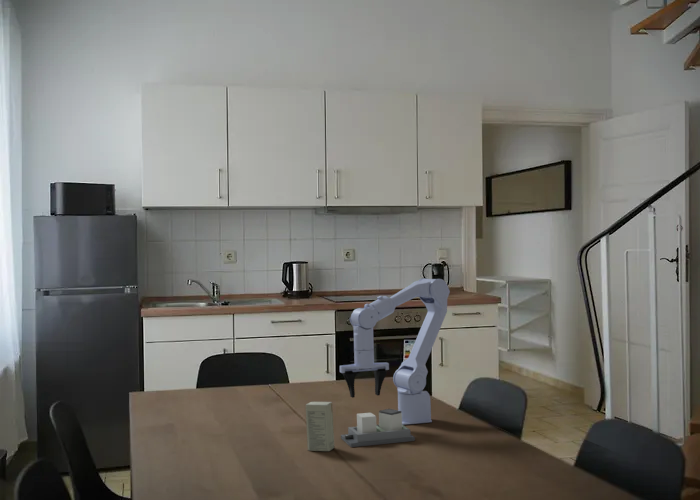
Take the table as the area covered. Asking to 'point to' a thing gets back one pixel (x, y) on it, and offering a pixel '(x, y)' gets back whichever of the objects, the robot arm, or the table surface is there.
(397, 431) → the socket board
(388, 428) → the plug
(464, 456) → the table surface
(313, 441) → the skincare box
